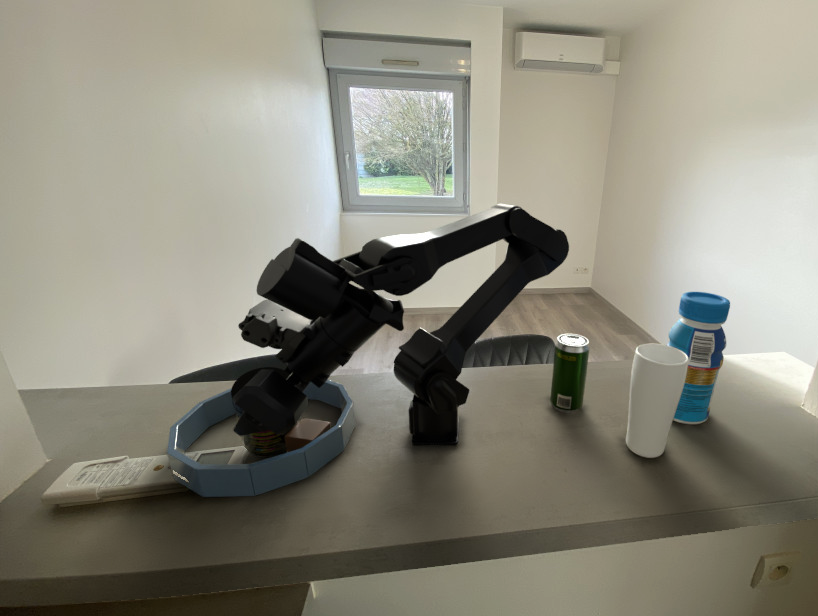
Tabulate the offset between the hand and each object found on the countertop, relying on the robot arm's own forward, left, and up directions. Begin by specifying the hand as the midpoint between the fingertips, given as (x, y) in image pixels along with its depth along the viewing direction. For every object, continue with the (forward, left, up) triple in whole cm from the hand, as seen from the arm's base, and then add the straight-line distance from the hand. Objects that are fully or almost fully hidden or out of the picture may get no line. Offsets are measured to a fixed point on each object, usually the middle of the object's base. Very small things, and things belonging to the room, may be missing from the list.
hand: (258, 409), depth 51 cm
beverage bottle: (-61, -11, -8) cm, 63 cm away
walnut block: (-5, -1, -8) cm, 9 cm away
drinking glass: (-51, -2, -8) cm, 52 cm away
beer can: (-42, -13, -8) cm, 45 cm away
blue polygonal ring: (+2, -5, -8) cm, 9 cm away
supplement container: (+1, -3, -7) cm, 7 cm away
